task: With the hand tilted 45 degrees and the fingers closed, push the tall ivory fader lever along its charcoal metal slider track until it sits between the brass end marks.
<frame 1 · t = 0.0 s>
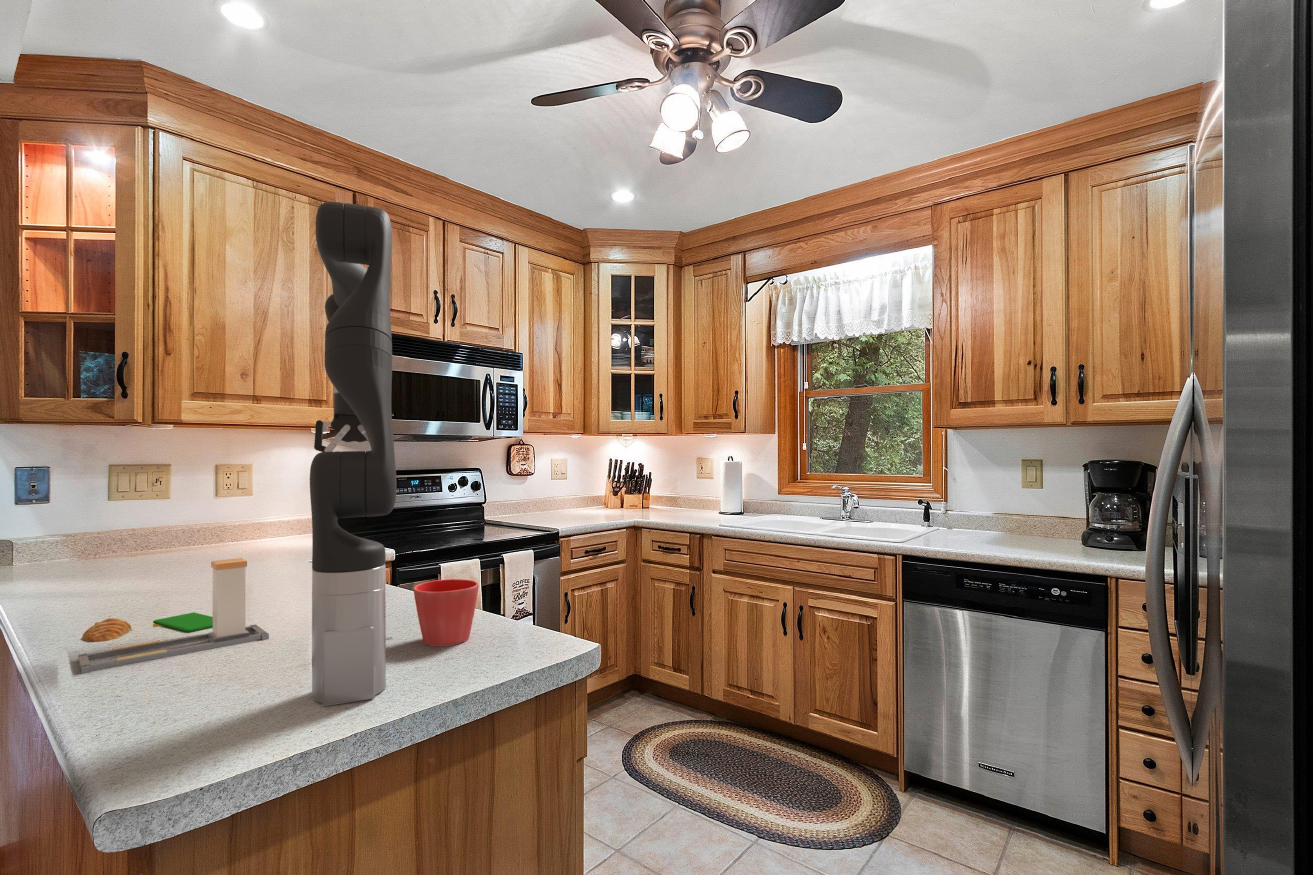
hand: (354, 472, 131), 29 cm above the counter, tool pointing down, fingers open, 8 cm apart
fader: (228, 600, 110), point 8 cm above the counter, slide at 0.0 cm
pastry: (107, 644, 115), on the counter
dish sponge: (191, 634, 121), on the counter
flower pot: (446, 641, 113), on the counter
track: (178, 657, 105), on the counter
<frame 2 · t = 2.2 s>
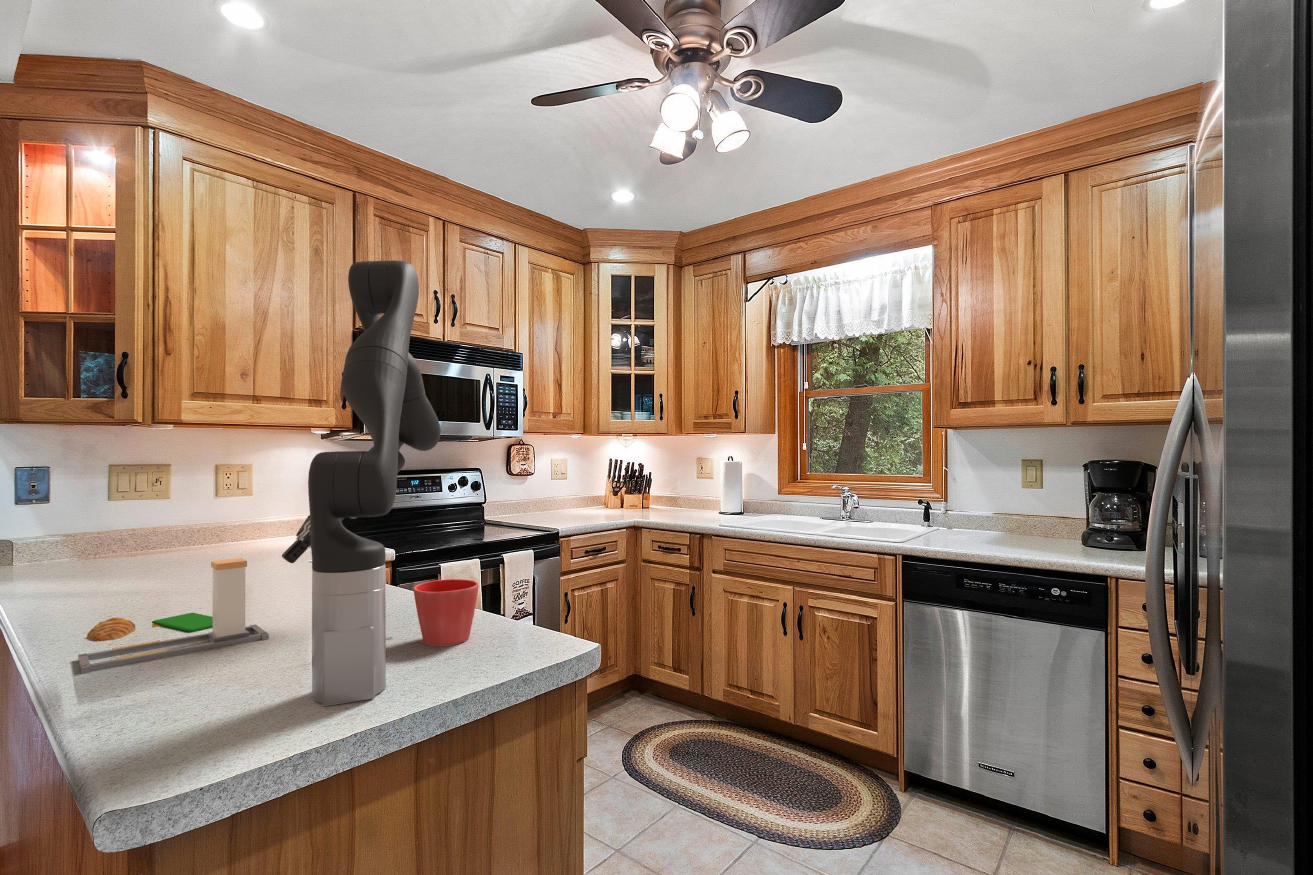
hand: (286, 560, 117), 14 cm above the counter, tool tilted 45°, fingers closed
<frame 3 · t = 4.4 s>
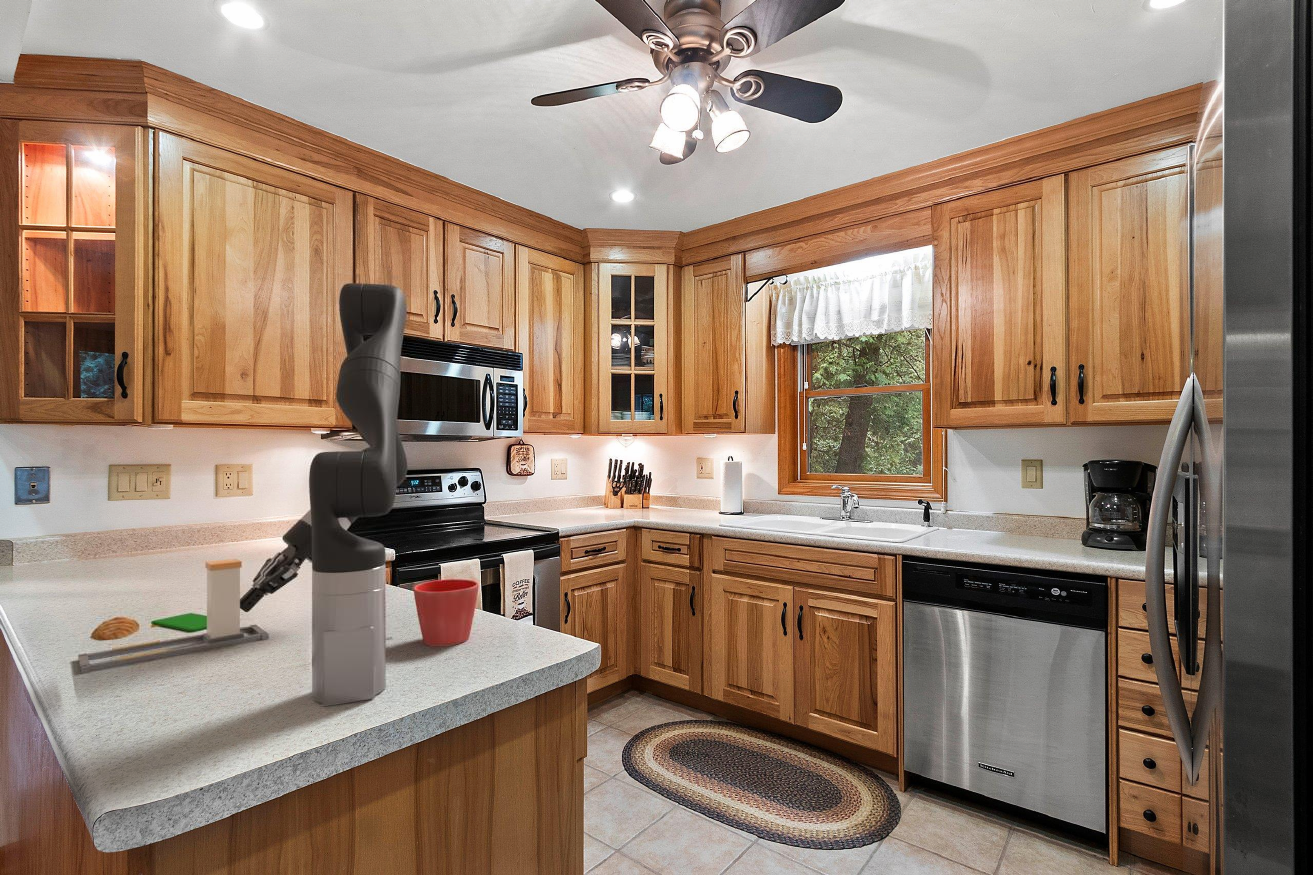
hand: (241, 608, 112), 6 cm above the counter, tool tilted 45°, fingers closed
fader: (223, 601, 110), point 8 cm above the counter, slide at 0.8 cm, touching gripper
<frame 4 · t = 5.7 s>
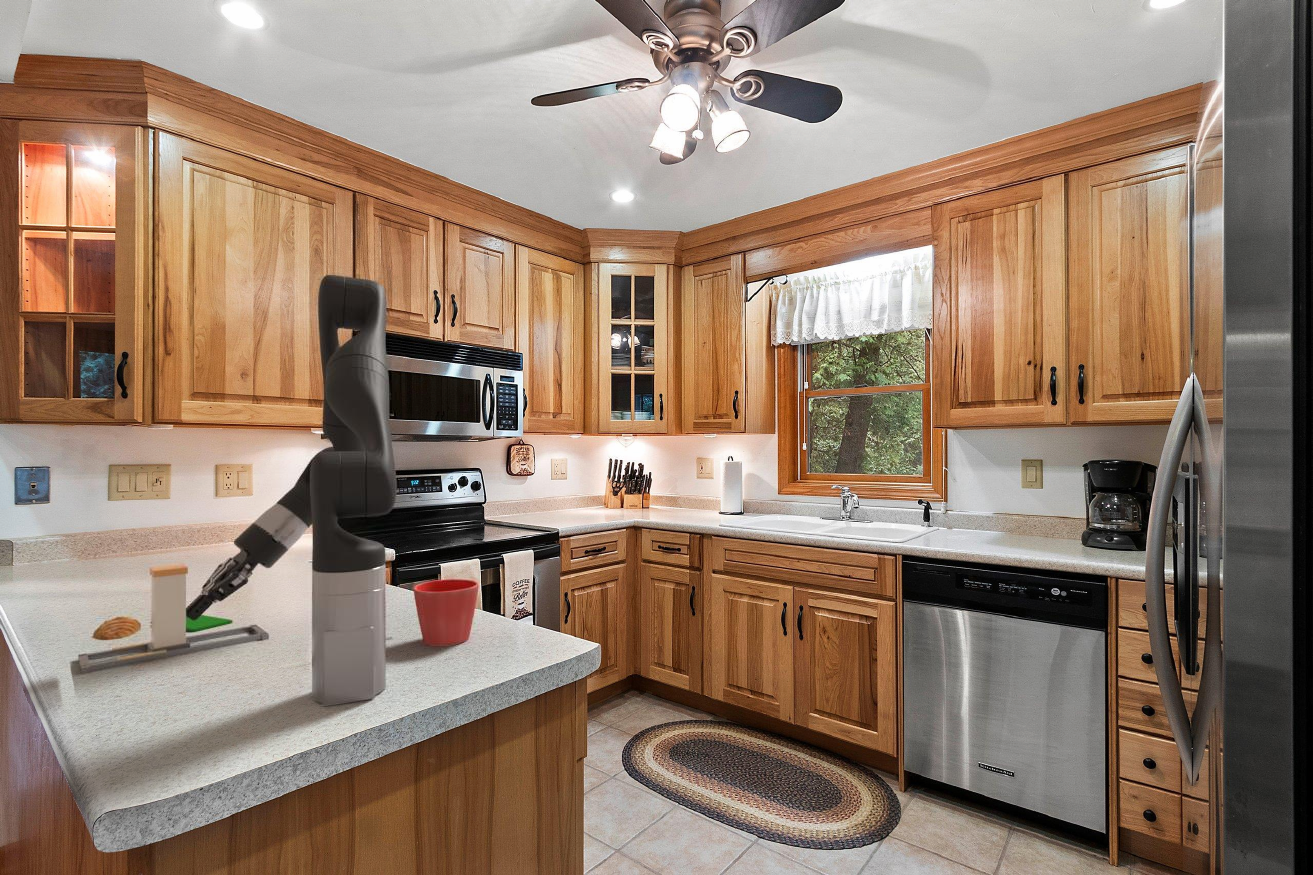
hand: (188, 616, 106), 6 cm above the counter, tool tilted 45°, fingers closed
fader: (168, 608, 105), point 8 cm above the counter, slide at 8.3 cm, touching gripper
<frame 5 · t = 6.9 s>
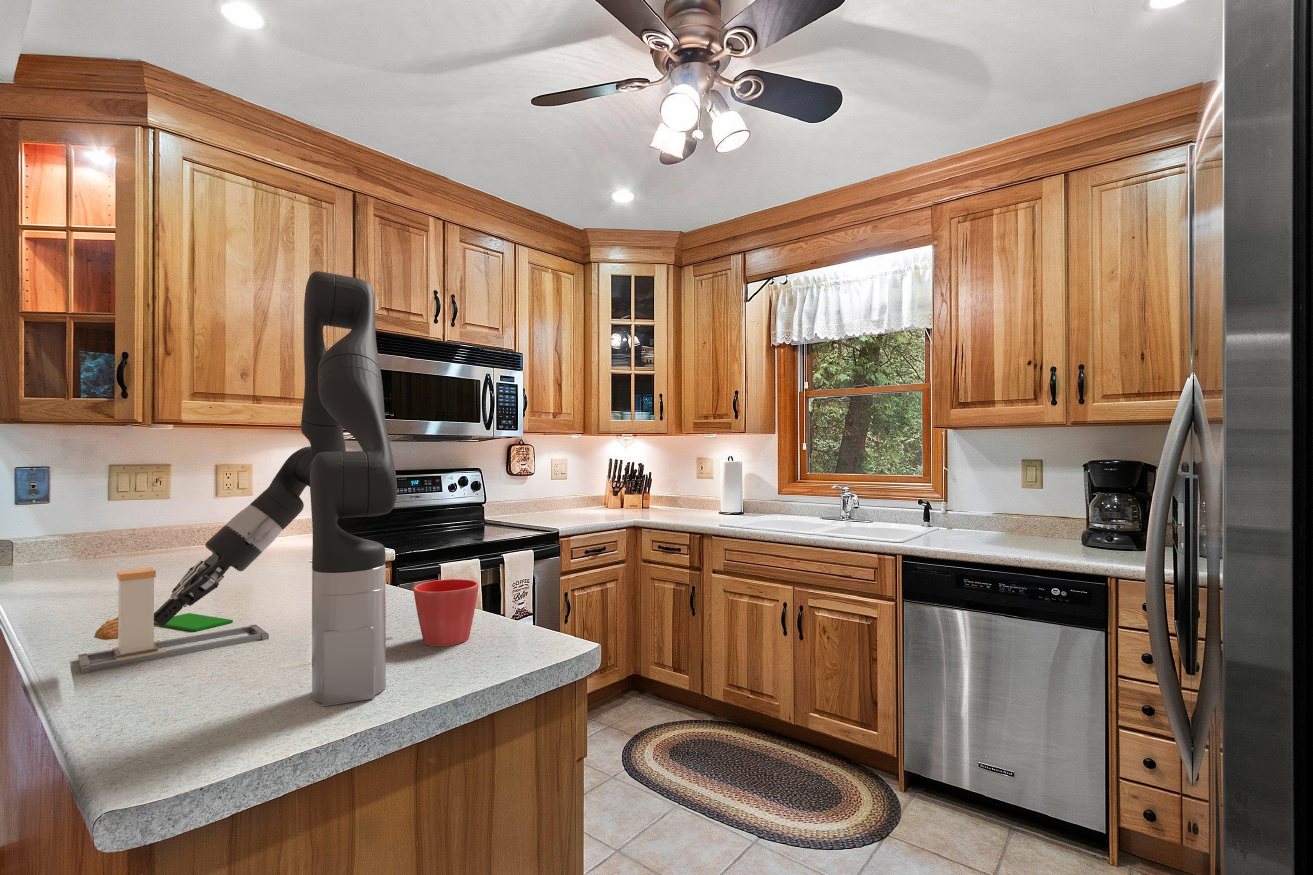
hand: (156, 621, 103), 6 cm above the counter, tool tilted 45°, fingers closed
fader: (136, 613, 102), point 8 cm above the counter, slide at 12.4 cm, touching gripper
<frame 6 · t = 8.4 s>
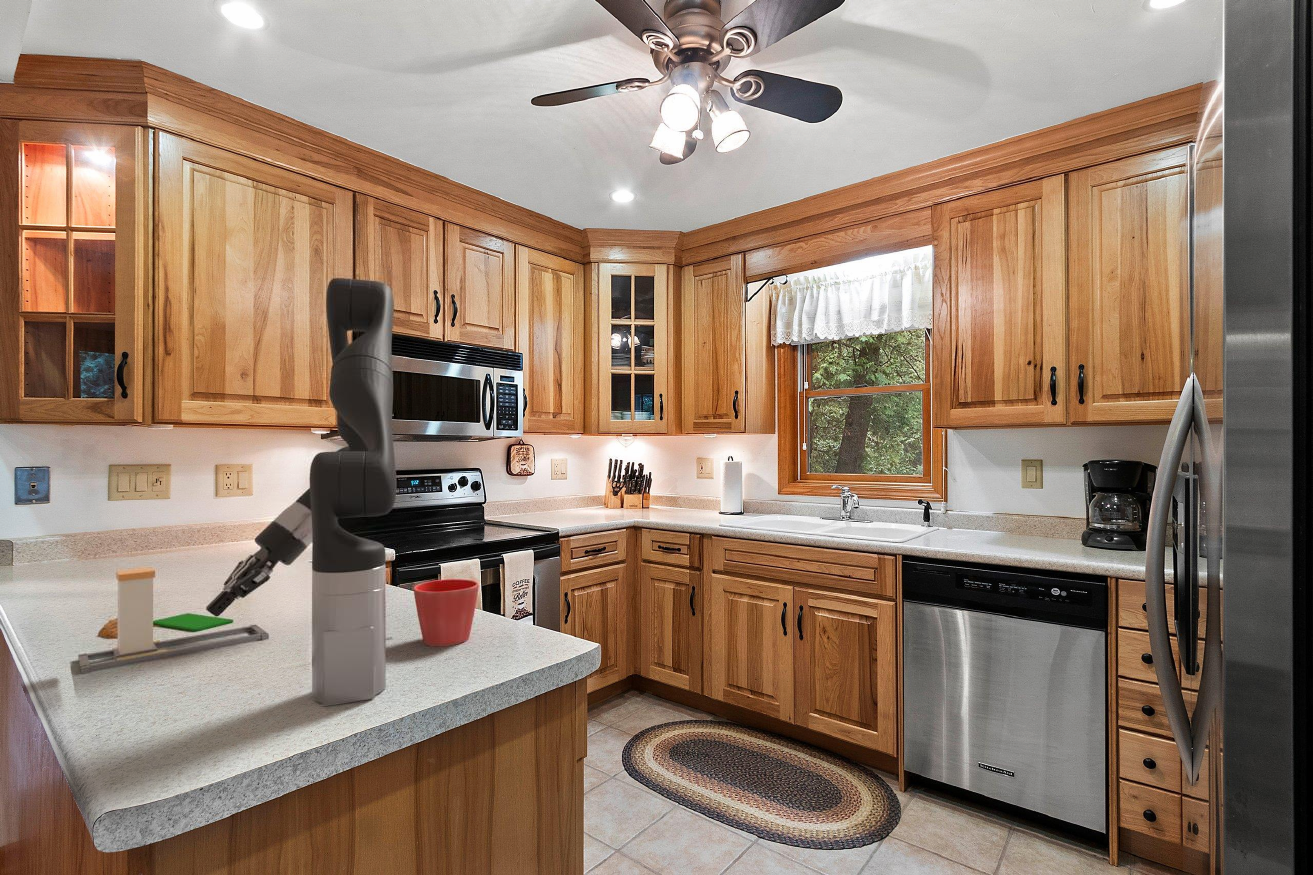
hand: (211, 613, 109), 6 cm above the counter, tool tilted 45°, fingers closed
fader: (135, 613, 102), point 8 cm above the counter, slide at 12.5 cm
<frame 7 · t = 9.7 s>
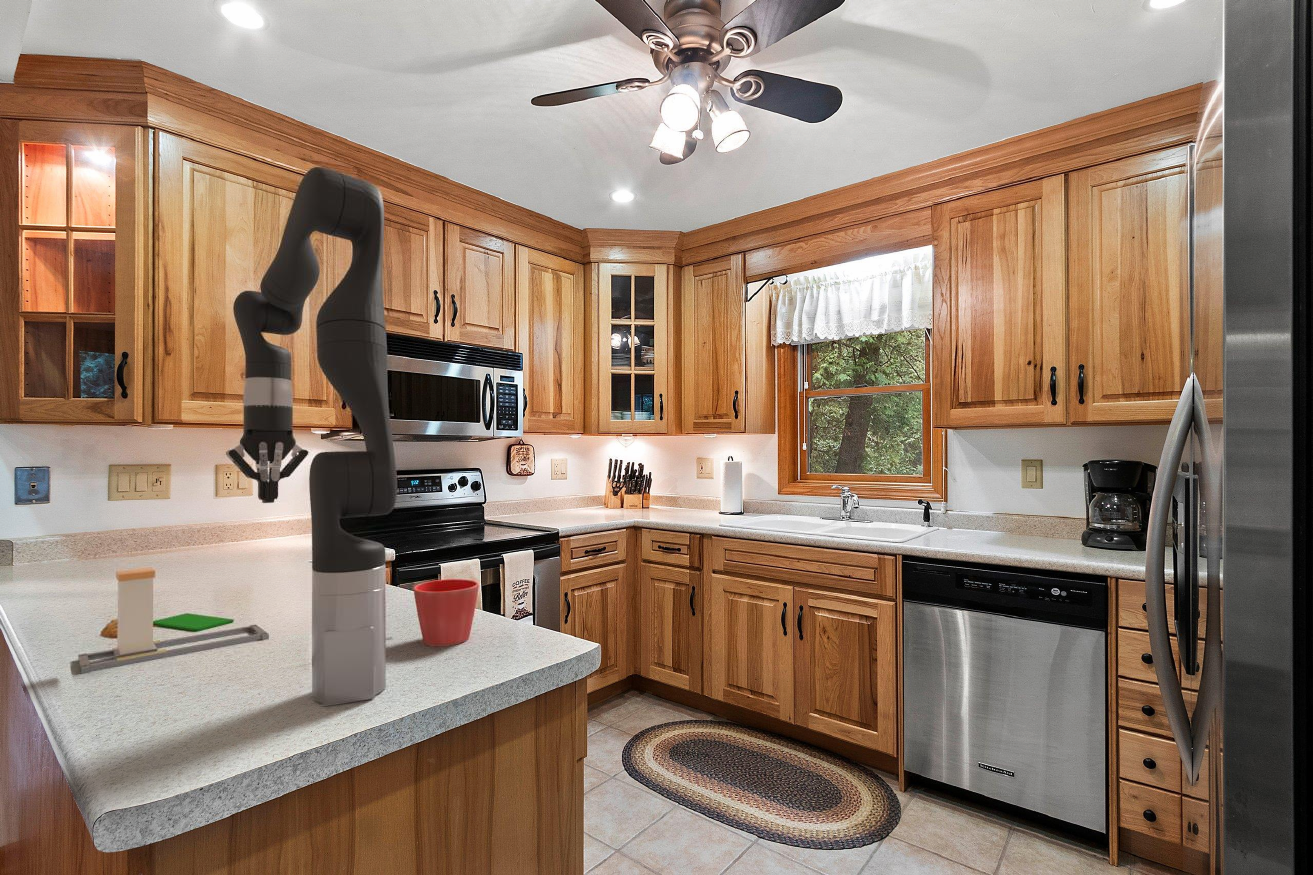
hand: (268, 502, 114), 24 cm above the counter, tool pointing down, fingers closed
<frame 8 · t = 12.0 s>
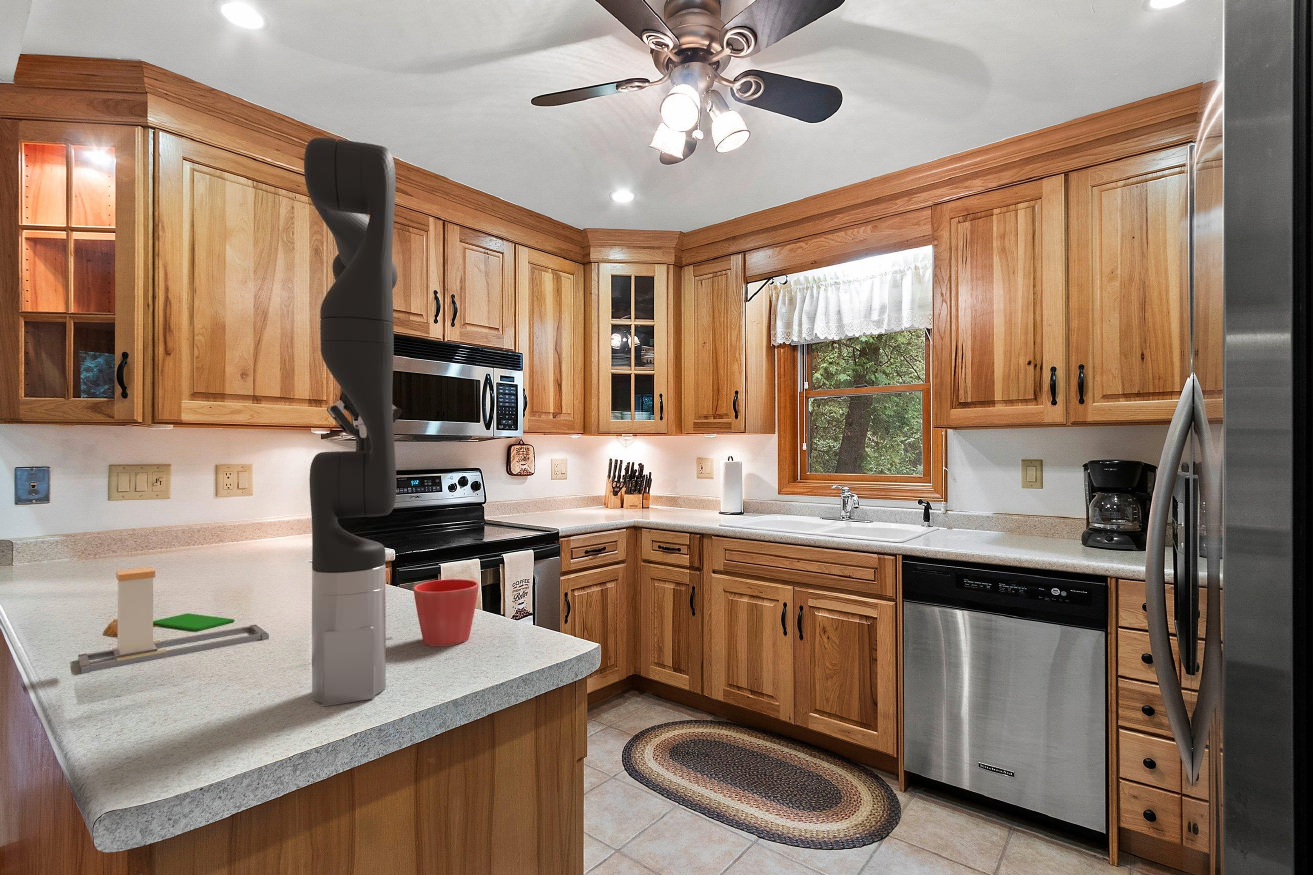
hand: (365, 458, 116), 32 cm above the counter, tool pointing down, fingers closed
at the end: fader slide at 12.5 cm; the gripper is holding nothing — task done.
